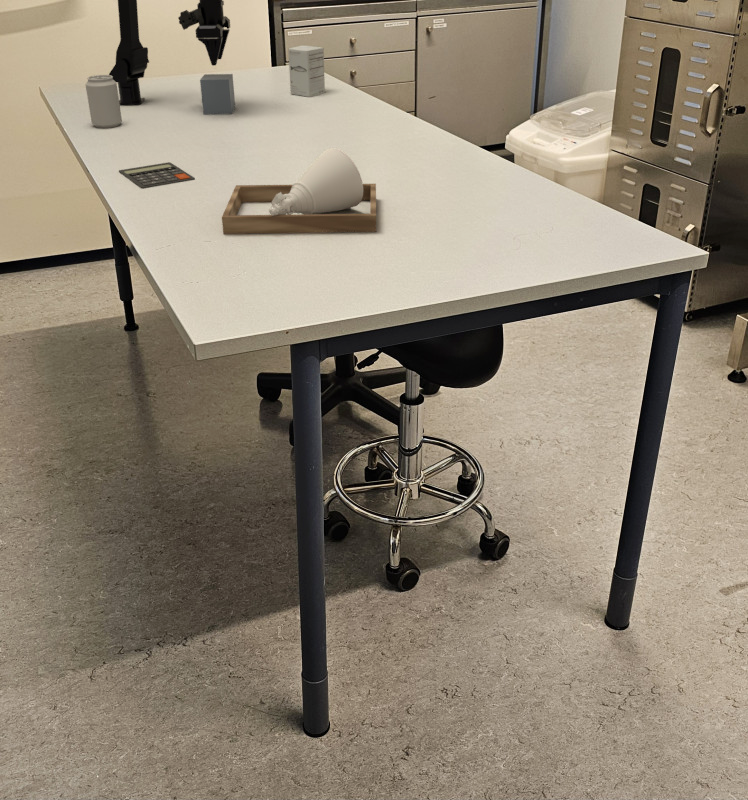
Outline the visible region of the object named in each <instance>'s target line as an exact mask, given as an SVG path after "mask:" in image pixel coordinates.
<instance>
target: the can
mask: <svg viewBox="0 0 748 800" xmlns="http://www.w3.org/2000/svg"><path fill="white" fill-rule="evenodd" d="M86 79H87V82H86V83H85V89H86V90H85V91H86V96H87V104H88V108H89V115H90V120H91V124H92V125H93V126H95V127H96V128H97V129H99V128H100V129H109V128H115V127H118V126H119V125H120V124H121V123H122V122H123V118H122V112H121V111H122V110H121V105H120V104H119V100H120V96H119V89H118V82H115V81H114V80H113V76H111V75H109V74H94V75H90V76H87V78H86Z"/></svg>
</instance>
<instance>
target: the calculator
mask: <svg viewBox="0 0 748 800" xmlns="http://www.w3.org/2000/svg"><path fill="white" fill-rule="evenodd" d="M118 173H119V174H120V175H122V176H124V177H125V178H126V179H127V180H129V181H131V182H132V183H133V184H134V185H136V186H137V187H138V188H140V189H149V188H154V187H160V186H167V185H171V184H177V183H183V182H190V181H194V180H196V178H195V177H194V176H193V175H191V174H190V173H188V172H186V171H185V170H183V169H181V168H180V167H178V166H177V165H175V164H174V163H172V162H163V163H157V164H156V163H155V164H150V165H143V166H138V167H130V168H126V169H119V170H118Z"/></svg>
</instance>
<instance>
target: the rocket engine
mask: <svg viewBox="0 0 748 800" xmlns="http://www.w3.org/2000/svg"><path fill="white" fill-rule="evenodd" d="M363 184H364V183H363V179H362V176H361V173H360V171H359V169H358V167H357V165H356V164H355V162H354V161H353V160H352V158H351V157H350V156H349V155H348V154H347V153H345V152H344V151H343V150H342V149H339V148H337V147H336V148H335V147H329V148H327V149H326V150H324V151H323V152H321V154H319V156H317V158H316V159H314V161H312V162H311V164H309V166H308V167H307V168H306V169H305V171H303V173H302V174H301V176H300V177H299V178H298V179H297V181H296V182H294V183H293V184H292V185H293V186H292V188H291V190H290V193H288V194H284V195H283V194H282V193H281V192H280V193H278V194H276V196H275V197H274V199H273V201H272V202H271V206H270V208H269V209H268V213H269V215H273V216H274V215H294V214H297V215H300V214H322V213H323V214H324V213H330V212H337V211H343V210H347V209H351V208H354V207H356V206H358V205H360V203H361V202H362V201H361V200H362V197H363ZM285 198H286V199H285ZM283 199H284V200H283ZM282 200H283V201H282ZM281 201H282V202H281Z"/></svg>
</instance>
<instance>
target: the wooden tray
mask: <svg viewBox="0 0 748 800" xmlns="http://www.w3.org/2000/svg"><path fill="white" fill-rule="evenodd" d="M292 186H293V184H249V185H247V184H242V185H240V184H239V185H238V184H237V185H235V187H234V189H233V191H232V194H231V195H230V198H229V200H228V202H227V205H226V206H225V209H224V212H223V214H222V216H221V223H222V224H221V225H222V232H223V235H225V234H227V235H230V234H234V235H235V234H237V235H239V234H241V235H242V234H301V233H302V234H303V233H304V234H305V233H306V234H307V233H308V234H309V233H311V234H312V233H316V234H317V233H319V234H320V233H375V232H376V233H377V184H376V183H363V197H362V200H361V202H362V201H363V202H364V201H369V202H370V212H369V213H323V214H322V213H313V214H302V213H300V214H291V215H287V214H286V215H274V216H273V215H271V214H239V215H238V212H239V210H240V207H241V205H242V203H258V202H259V203H262V202H263V203H266V202H267V203H270V202H271V203H272V201H273V199H274V197H275V196H276V194H278V193H280V192H281V193H282V194H283V195H284V194H288V193H290V190H291V188H292ZM285 199H286V198H285ZM283 200H284V199H283ZM283 200H282V201H283ZM282 201H281V202H282Z"/></svg>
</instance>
